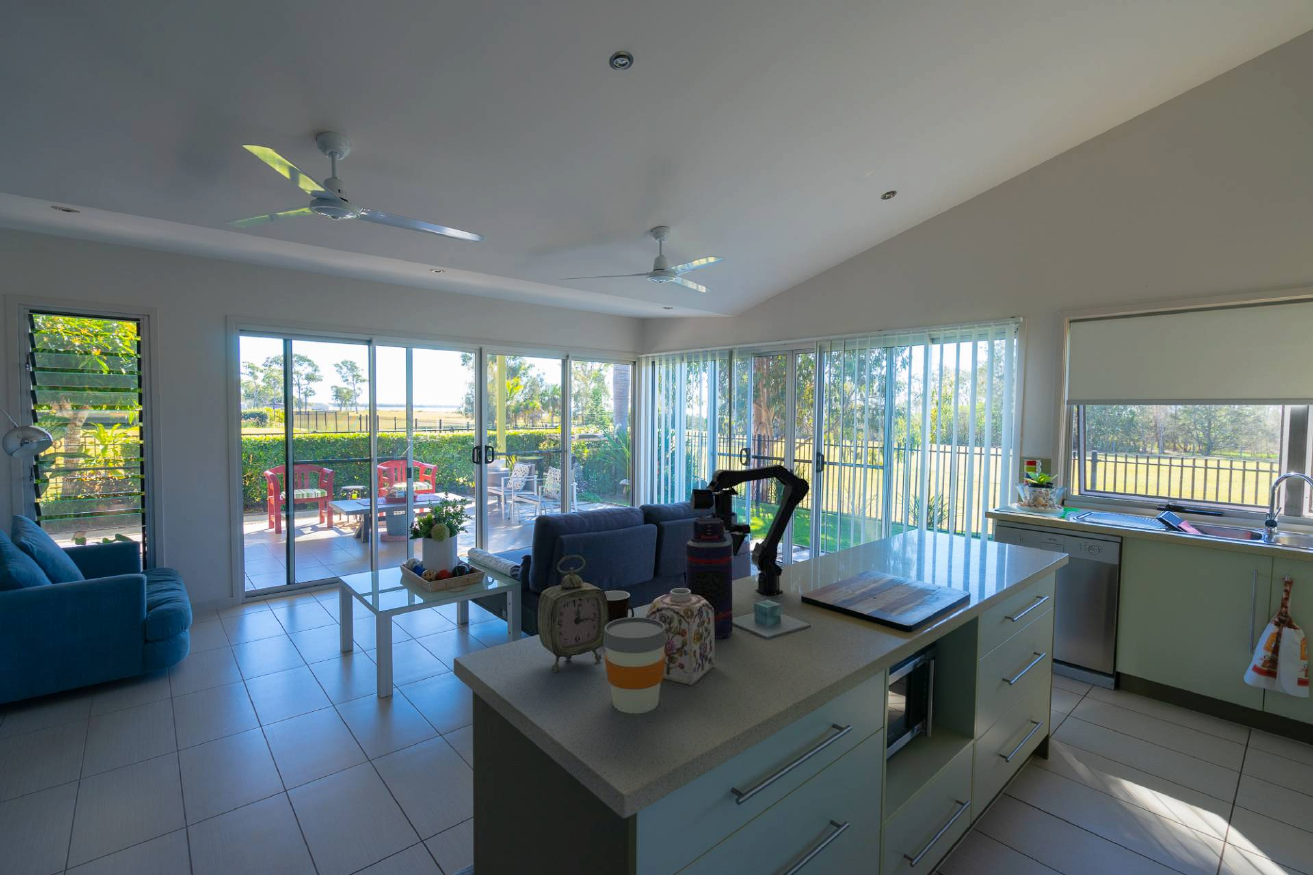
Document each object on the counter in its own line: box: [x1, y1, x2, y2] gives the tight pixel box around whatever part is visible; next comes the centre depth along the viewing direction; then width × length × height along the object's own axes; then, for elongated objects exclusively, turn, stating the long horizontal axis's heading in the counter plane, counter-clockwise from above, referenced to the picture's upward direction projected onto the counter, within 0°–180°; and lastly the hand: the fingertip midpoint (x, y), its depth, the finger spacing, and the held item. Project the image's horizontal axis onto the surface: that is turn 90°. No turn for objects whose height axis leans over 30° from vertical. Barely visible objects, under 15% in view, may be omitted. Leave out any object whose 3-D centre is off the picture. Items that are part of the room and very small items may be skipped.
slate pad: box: [732, 612, 811, 640], centre depth 160 cm, size 16×16×1 cm
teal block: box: [753, 599, 782, 626], centre depth 160 cm, size 5×5×5 cm
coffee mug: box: [604, 590, 635, 623], centre depth 153 cm, size 12×9×10 cm
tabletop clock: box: [537, 554, 609, 673], centre depth 135 cm, size 14×9×25 cm, turn 123°
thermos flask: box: [685, 517, 734, 641], centre depth 153 cm, size 14×12×30 cm
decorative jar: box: [645, 587, 716, 686], centre depth 130 cm, size 12×12×18 cm
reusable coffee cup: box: [603, 616, 667, 714], centre depth 115 cm, size 13×13×15 cm
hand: (723, 557), depth 187 cm, fingers open, 9 cm apart
